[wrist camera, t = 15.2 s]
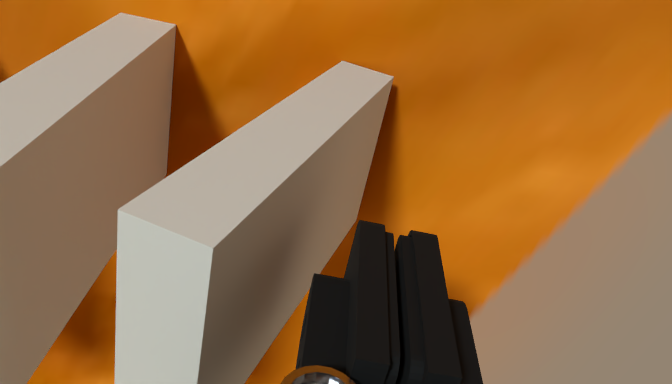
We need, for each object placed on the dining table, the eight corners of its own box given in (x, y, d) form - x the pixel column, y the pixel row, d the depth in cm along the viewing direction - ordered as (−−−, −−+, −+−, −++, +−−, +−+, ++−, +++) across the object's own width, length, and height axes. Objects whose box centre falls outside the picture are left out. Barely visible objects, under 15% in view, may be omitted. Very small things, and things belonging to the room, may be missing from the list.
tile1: (393, 76, 17) (213, 248, 8) (356, 220, 19) (187, 467, 11) (342, 60, 17) (117, 209, 9) (312, 203, 19) (113, 430, 11)
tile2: (176, 24, 17) (-37, 197, 8) (166, 174, 19) (-6, 430, 10) (121, 12, 17) (-156, 173, 8) (118, 164, 19) (-96, 414, 10)
